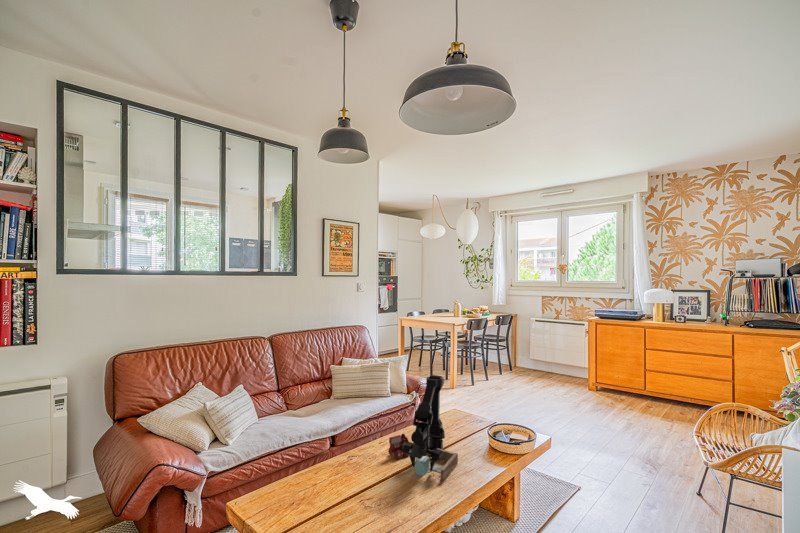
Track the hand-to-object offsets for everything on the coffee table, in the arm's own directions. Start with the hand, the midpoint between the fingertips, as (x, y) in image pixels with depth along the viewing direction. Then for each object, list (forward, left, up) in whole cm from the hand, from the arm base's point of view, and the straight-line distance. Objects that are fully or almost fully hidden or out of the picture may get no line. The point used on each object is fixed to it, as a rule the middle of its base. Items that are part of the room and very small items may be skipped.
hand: (422, 469), depth 181 cm
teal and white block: (0, 0, -1) cm, 1 cm away
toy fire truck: (-17, +9, -2) cm, 19 cm away
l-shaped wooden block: (+7, +6, -1) cm, 9 cm away
